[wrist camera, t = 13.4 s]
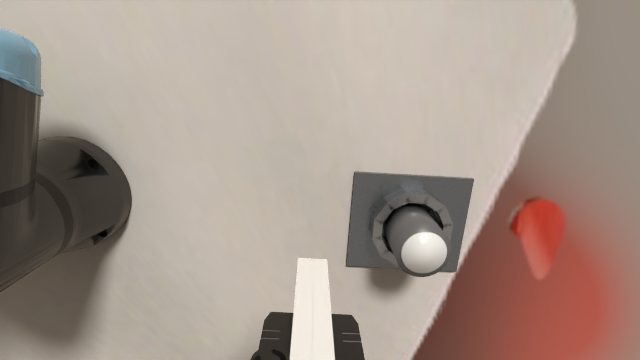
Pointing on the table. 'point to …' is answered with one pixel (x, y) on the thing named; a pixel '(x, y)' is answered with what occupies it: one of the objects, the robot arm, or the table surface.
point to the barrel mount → (397, 190)
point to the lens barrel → (417, 240)
